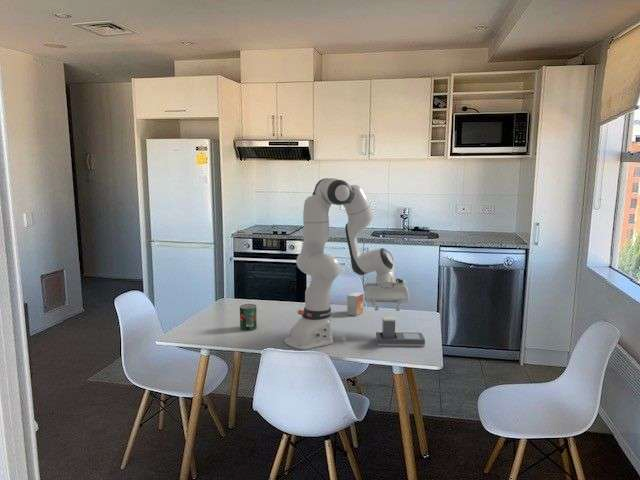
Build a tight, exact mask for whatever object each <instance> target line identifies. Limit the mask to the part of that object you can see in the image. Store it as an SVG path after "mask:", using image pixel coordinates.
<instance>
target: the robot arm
mask: <svg viewBox="0 0 640 480" xmlns="http://www.w3.org/2000/svg"><path fill="white" fill-rule="evenodd" d="M332 205H335V206H343V207H344V210H345V212H346V215H347V223H346V224H345V238H346V243H347V246H348V252H349V255H350V256H349V257H350V266H351V269H352V272H353V273H354V274H357V275H359V276H363V275H364V276H365V275H367V274H369V273H373V272H375V273H376V277H375V282H373V283H370V282H369V283H365V284H364V285H363V287H362V288H363V291H364V295H363V301H365V302H366V303H371V304H372V306H373V307H374V311H379V305H377V304H376V303H380V304H381V303H387V304H389V303H391V304H397V305H396V306H395V311H396V312H400V307H401V306H402V304H408V303H409V301H410V293H409V289H408V288H409V287H408V286H406V280H404V279H402V278H398V277H396V276H395V262H394V258H393V255H392V254H391V252H390V251H388V250H387V249H385V248H377V249H372V250H369V251H365V252H361V251H360V249H359V243H358V242H359V241H358V238H357V236H358V235H359V233H360V232H362V231H363V230H365V229H366V228H367V227H368V226H369V225H370V224H371V222H372V220H373V218H374V214H373V213H374V212H373V209H372V206H371V204H370V201H369V199H368V197H367V195H366V193H365V191H364V190H363V188H362V186H360V185H358V184H349V183H348V182H347V181H345V180H342V179H337V178H333V177H331V178H327V177H326V178H322V179H320V180H319V181H318V182H317V183H316V184H315V187H314V189H313V192H312V195H311V196H308V197H306V199H305V200H304V203H303V213H302V215H303V217H302V220H303V221H302V222H303V243H302V247H301V251H300V253H299V254H298V255H297V257H296V266H297V268H298V269H299V270H300V272H302V273H304V274H306V275H308V276H310V277H311V278H310V282H309V286H308V287H306V289H305V292H304V295H305V297H304V308H303V310H302V309H298V310H297V314H298V315H301V317H300V318H299V320H298V321H296V323H295V324H294V325H292V327H291V328H290V332H289V337H287V338H285V339H284V344H286V345H288V346H289V347H291V348H294V349H298V350H303V351H304V350H310V349H315V348H318V347H322V346H323V347H324V346H327V345H331V344H334V335H333V331H332V330H333V329H332V324H331V316H332V308H331V290H332V286H333V283H334V280H336V279H337V278H338V276H339V274H340V273H341V264H340V261H339V260H338V259H336V258H335V257H333V256H332V255H329V254H326V253H324V252H325V251H324V250H325V245H326V243H327V242H328V241H329V239H330V218H329V212H330V208H331V206H332Z"/></svg>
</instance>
